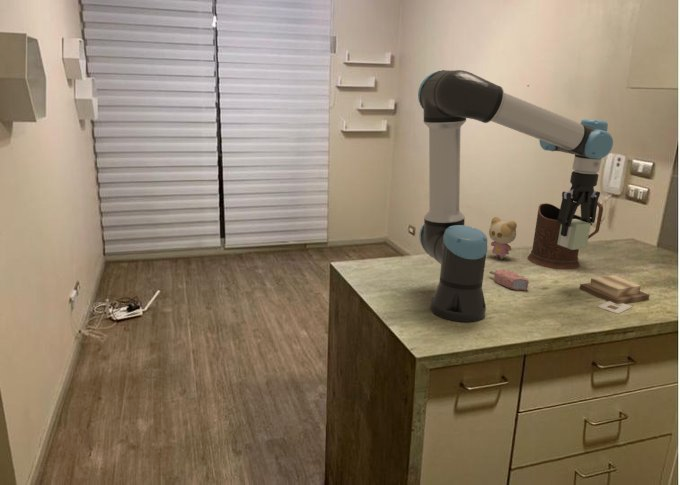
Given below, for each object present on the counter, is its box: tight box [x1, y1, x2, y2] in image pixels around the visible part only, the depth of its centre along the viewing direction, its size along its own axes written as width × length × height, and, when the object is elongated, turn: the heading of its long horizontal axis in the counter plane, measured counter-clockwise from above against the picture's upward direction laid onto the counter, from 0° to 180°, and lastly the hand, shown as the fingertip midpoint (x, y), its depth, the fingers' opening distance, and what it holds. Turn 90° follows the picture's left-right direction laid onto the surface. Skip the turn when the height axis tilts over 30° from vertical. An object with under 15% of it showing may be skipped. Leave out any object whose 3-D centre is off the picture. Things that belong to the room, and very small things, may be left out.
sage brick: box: [557, 219, 592, 250], centre depth 169 cm, size 6×6×8 cm
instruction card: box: [597, 301, 633, 315], centre depth 160 cm, size 9×6×1 cm, turn 129°
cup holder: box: [526, 201, 604, 271], centre depth 195 cm, size 18×24×25 cm
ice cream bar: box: [489, 269, 530, 291], centre depth 174 cm, size 6×4×15 cm
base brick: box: [579, 274, 650, 304], centre depth 170 cm, size 14×14×4 cm
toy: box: [488, 216, 518, 260], centre depth 199 cm, size 10×8×15 cm
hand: (571, 245), depth 170 cm, fingers closed on sage brick, 6 cm apart
